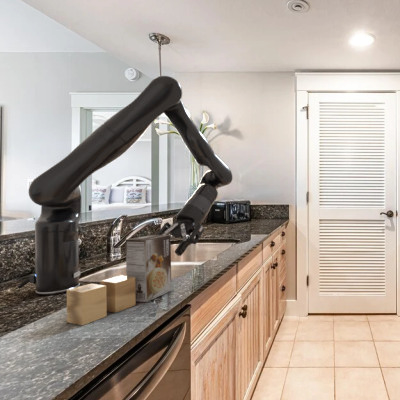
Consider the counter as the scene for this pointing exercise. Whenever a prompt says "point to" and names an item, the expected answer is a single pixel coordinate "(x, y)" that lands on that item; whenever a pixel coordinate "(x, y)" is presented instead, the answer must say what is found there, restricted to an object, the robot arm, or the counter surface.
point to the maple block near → (86, 304)
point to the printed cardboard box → (149, 265)
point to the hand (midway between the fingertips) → (166, 253)
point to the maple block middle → (119, 293)
